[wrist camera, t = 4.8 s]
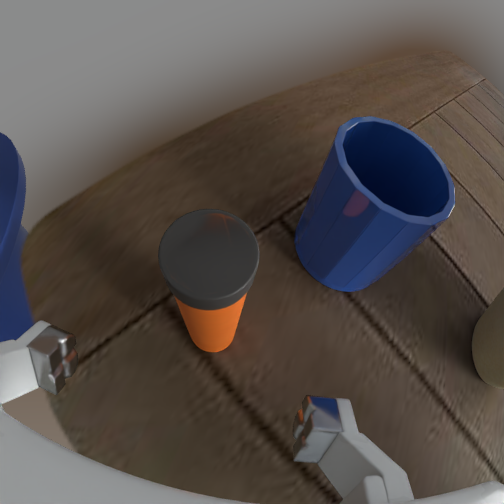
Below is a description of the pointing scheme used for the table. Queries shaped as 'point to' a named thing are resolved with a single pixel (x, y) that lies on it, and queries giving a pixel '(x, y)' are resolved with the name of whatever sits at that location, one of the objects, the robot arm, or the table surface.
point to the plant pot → (490, 344)
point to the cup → (371, 203)
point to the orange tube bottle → (209, 272)
